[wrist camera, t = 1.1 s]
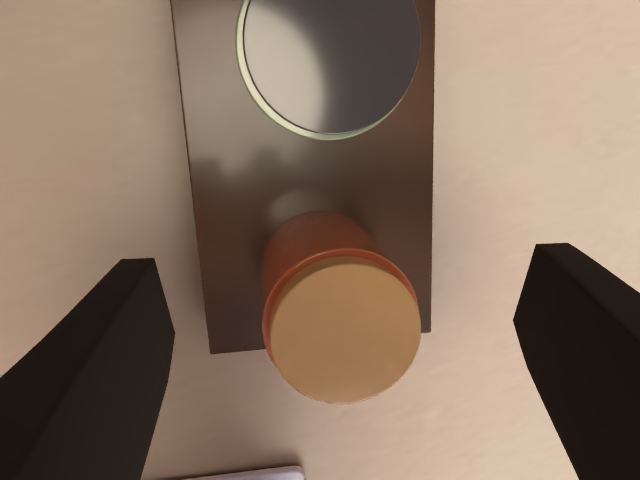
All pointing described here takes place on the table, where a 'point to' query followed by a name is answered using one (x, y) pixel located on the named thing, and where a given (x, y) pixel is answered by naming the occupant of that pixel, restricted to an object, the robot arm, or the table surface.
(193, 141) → the stand
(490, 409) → the table surface
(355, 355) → the spice jar
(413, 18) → the sage pot
